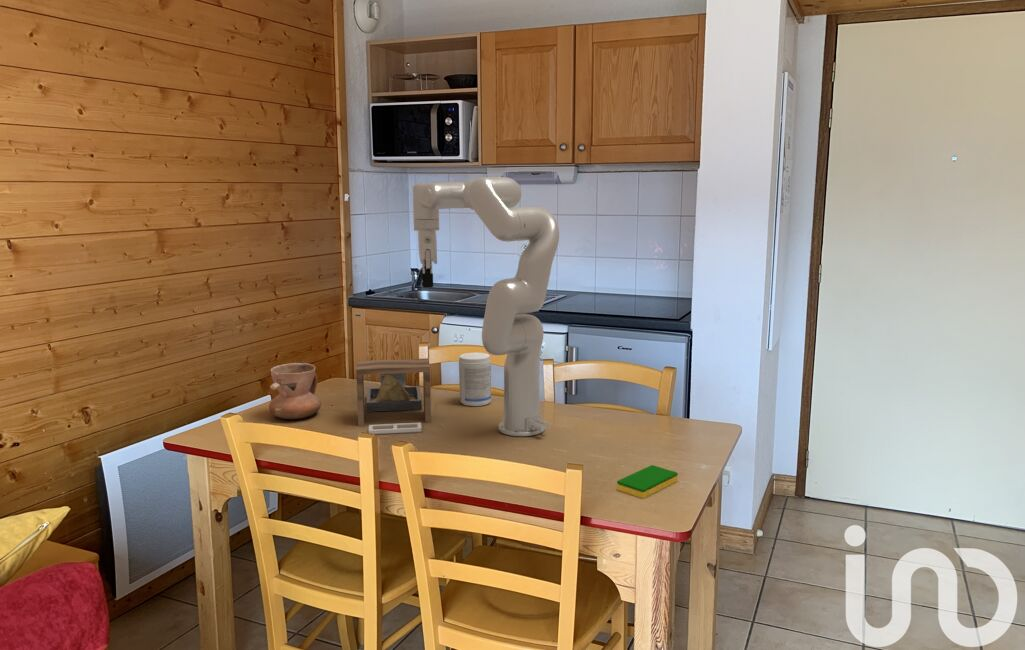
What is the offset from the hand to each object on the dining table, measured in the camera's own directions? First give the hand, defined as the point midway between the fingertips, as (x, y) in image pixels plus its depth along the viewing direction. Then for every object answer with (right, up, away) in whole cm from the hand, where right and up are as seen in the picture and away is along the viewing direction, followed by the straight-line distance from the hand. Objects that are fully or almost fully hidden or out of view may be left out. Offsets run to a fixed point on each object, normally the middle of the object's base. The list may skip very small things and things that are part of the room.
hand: (427, 286), depth 233 cm
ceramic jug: (-37, -38, -9) cm, 53 cm away
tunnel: (-8, -38, -12) cm, 41 cm away
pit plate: (-6, -40, -23) cm, 46 cm away
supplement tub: (+14, -35, +4) cm, 38 cm away
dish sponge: (+56, -48, -59) cm, 94 cm away
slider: (-11, -34, +7) cm, 37 cm away
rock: (-10, -37, -2) cm, 38 cm away
